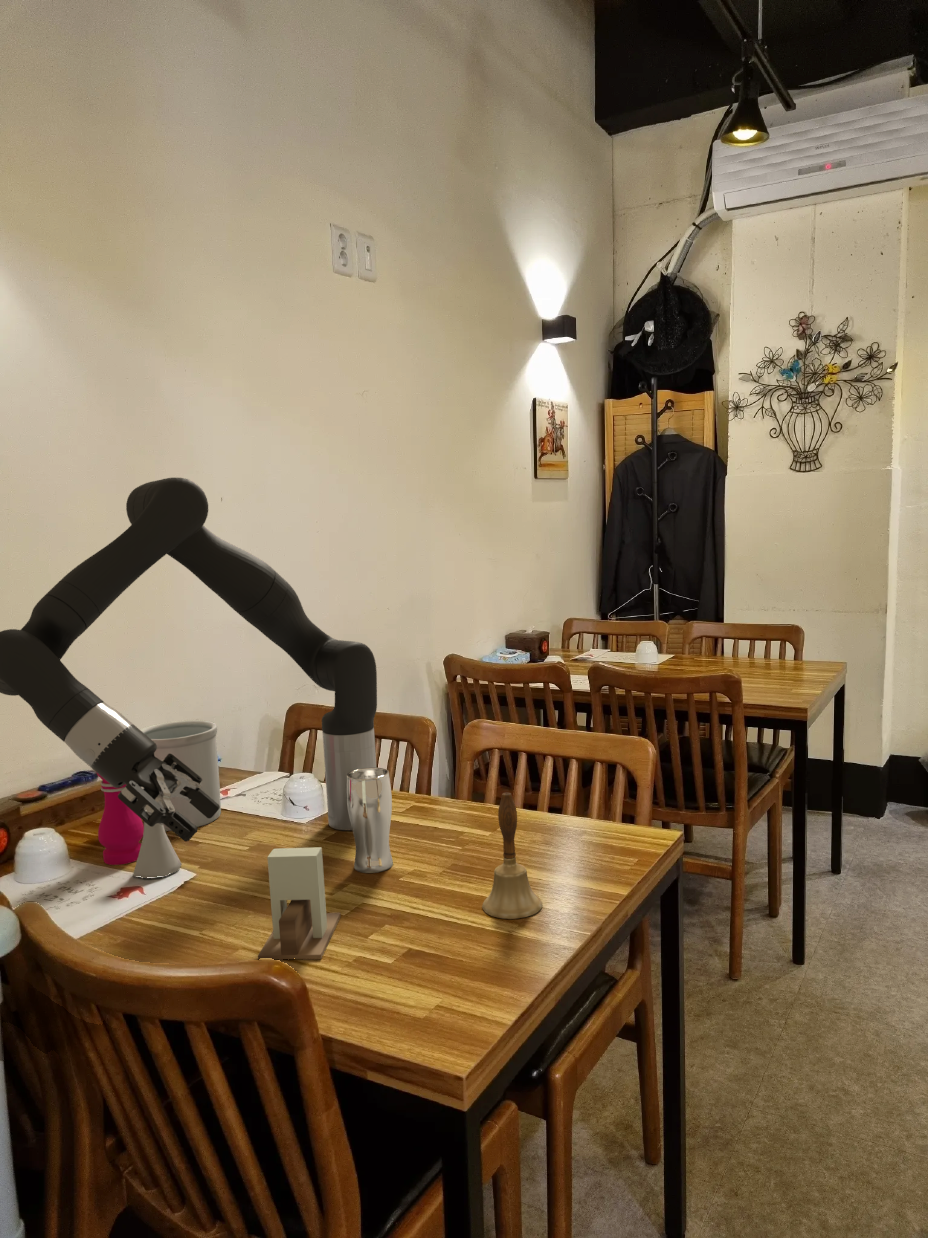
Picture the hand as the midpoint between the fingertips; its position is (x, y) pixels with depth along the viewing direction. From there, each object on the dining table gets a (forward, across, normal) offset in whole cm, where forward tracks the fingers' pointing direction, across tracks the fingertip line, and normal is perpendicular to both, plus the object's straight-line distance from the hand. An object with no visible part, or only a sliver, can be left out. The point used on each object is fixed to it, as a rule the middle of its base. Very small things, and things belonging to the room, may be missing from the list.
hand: (204, 824), depth 118 cm
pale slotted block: (+19, -2, +2) cm, 19 cm away
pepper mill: (-7, +28, +29) cm, 41 cm away
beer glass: (+24, +22, -1) cm, 32 cm away
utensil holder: (-5, +48, +27) cm, 55 cm away
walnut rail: (+19, -2, +2) cm, 20 cm away
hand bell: (+40, +6, -17) cm, 43 cm away
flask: (-1, +22, +23) cm, 32 cm away
